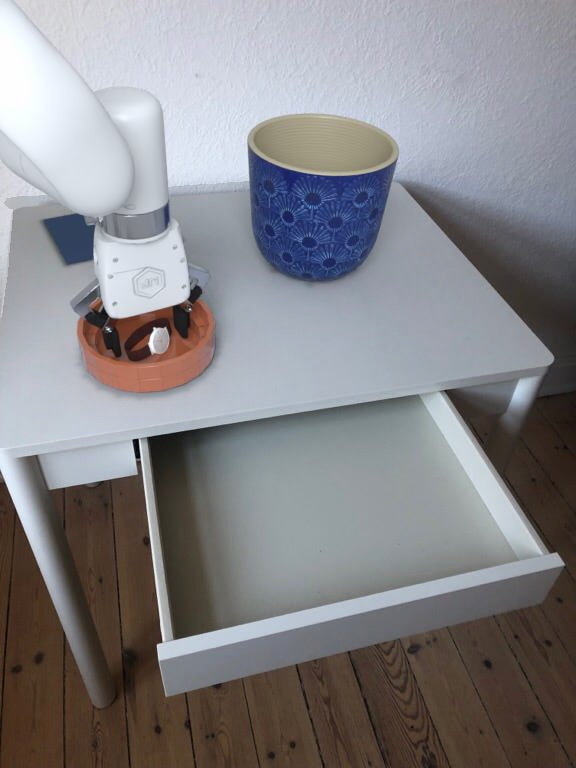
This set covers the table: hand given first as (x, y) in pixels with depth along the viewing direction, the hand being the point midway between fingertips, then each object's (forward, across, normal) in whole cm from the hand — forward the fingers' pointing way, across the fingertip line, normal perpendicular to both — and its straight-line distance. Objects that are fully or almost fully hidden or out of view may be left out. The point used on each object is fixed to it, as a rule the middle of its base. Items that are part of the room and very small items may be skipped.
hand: (148, 341), depth 80 cm
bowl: (+2, 0, 0) cm, 2 cm away
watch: (+1, 0, 0) cm, 1 cm away
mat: (+2, +5, +31) cm, 31 cm away
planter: (+2, +30, +10) cm, 32 cm away
